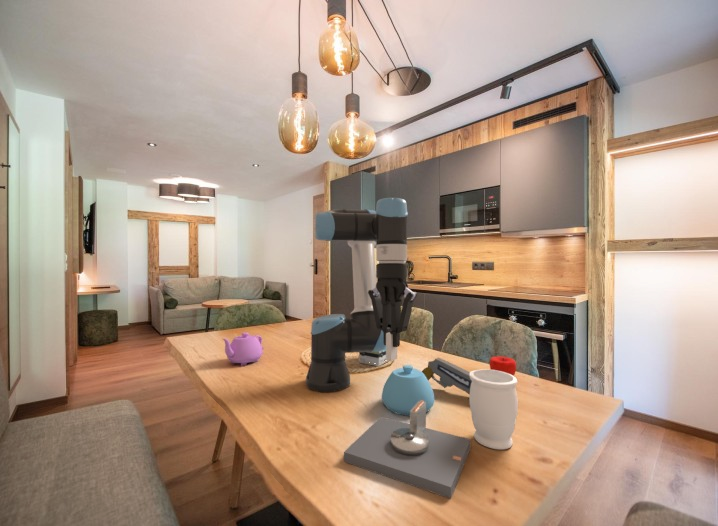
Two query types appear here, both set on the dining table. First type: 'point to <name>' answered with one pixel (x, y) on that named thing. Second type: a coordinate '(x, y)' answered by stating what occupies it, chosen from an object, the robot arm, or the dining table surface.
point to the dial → (412, 433)
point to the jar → (493, 407)
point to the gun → (448, 374)
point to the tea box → (373, 357)
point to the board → (411, 457)
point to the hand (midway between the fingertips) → (391, 359)
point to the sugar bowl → (407, 390)
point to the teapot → (244, 349)
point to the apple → (503, 364)
